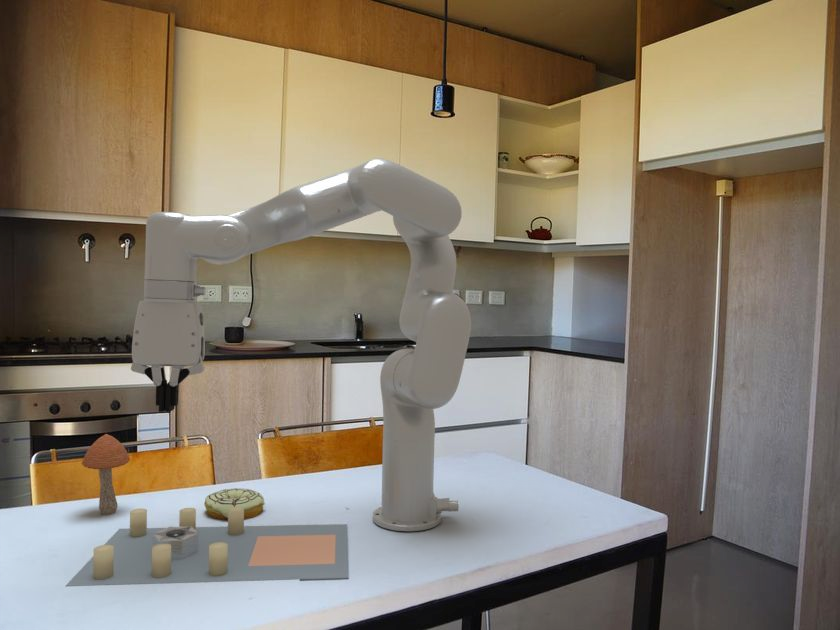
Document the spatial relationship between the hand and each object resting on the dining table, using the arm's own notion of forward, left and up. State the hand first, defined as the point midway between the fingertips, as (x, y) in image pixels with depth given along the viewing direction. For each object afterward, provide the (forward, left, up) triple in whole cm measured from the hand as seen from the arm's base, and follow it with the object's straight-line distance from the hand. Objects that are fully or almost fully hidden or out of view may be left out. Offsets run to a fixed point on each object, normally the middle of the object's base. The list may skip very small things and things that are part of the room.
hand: (166, 410), depth 101 cm
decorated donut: (-8, -19, -23) cm, 31 cm away
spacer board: (-9, 0, -23) cm, 24 cm away
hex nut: (-2, 0, -23) cm, 23 cm away
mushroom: (+15, -19, -23) cm, 34 cm away
